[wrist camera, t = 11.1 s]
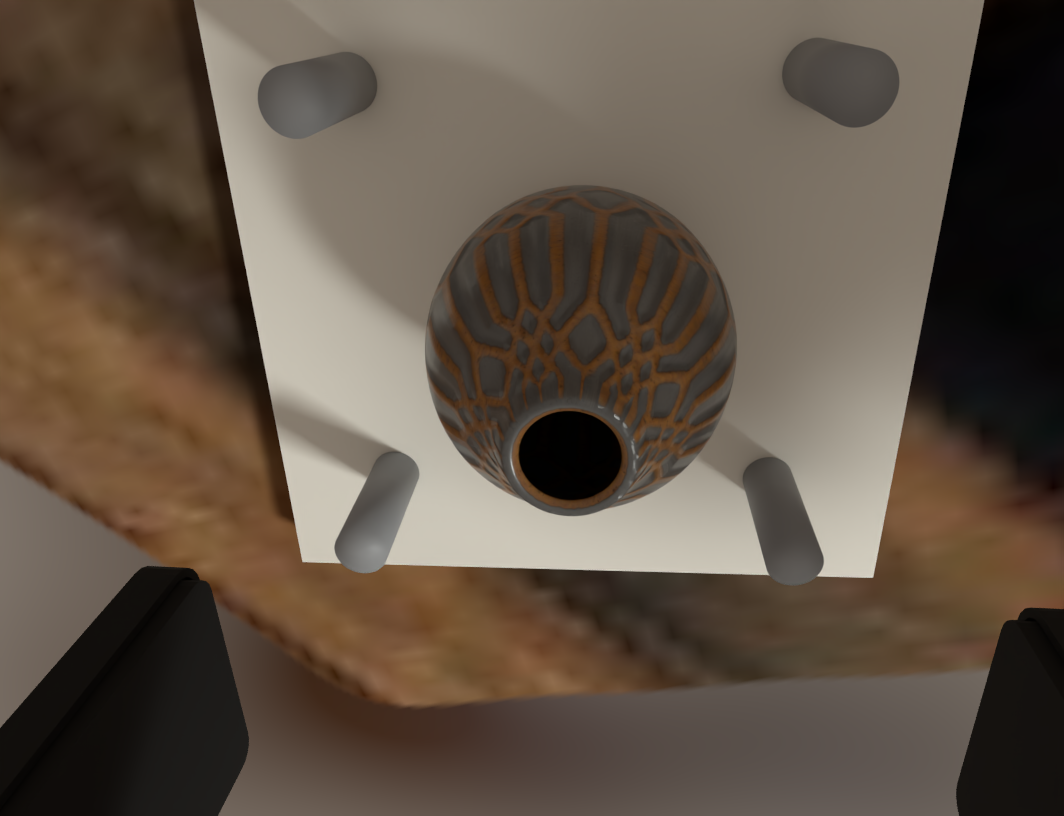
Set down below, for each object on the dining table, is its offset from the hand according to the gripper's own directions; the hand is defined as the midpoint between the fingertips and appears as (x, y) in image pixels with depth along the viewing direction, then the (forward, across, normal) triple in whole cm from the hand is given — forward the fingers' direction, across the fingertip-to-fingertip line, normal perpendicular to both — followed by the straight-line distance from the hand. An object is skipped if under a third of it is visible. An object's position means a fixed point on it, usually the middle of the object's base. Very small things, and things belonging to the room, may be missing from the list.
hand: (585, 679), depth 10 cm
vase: (+14, +1, 0) cm, 14 cm away
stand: (+15, +1, 0) cm, 15 cm away
